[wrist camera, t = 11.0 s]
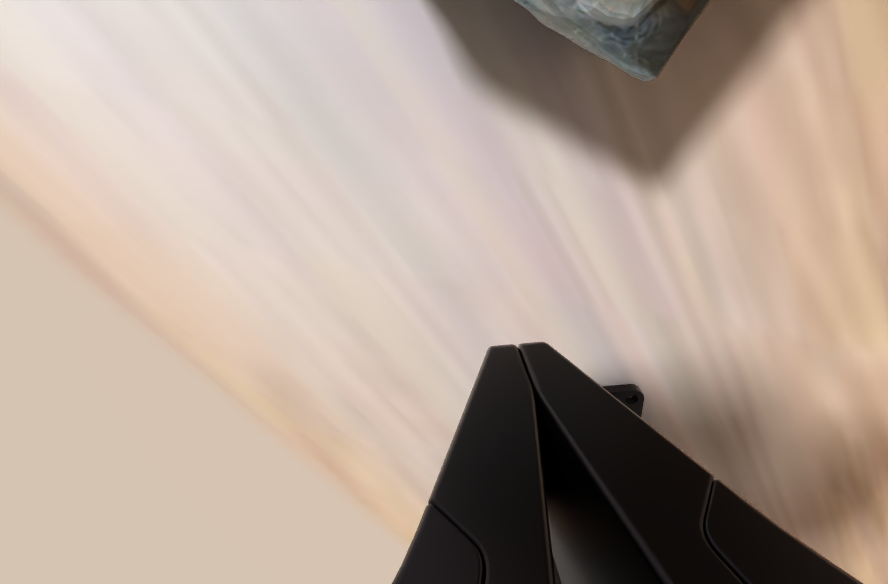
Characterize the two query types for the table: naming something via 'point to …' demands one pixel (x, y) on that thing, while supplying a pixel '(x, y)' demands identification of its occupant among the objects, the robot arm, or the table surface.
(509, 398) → the robot arm
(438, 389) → the table surface
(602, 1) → the grey-green printed box
